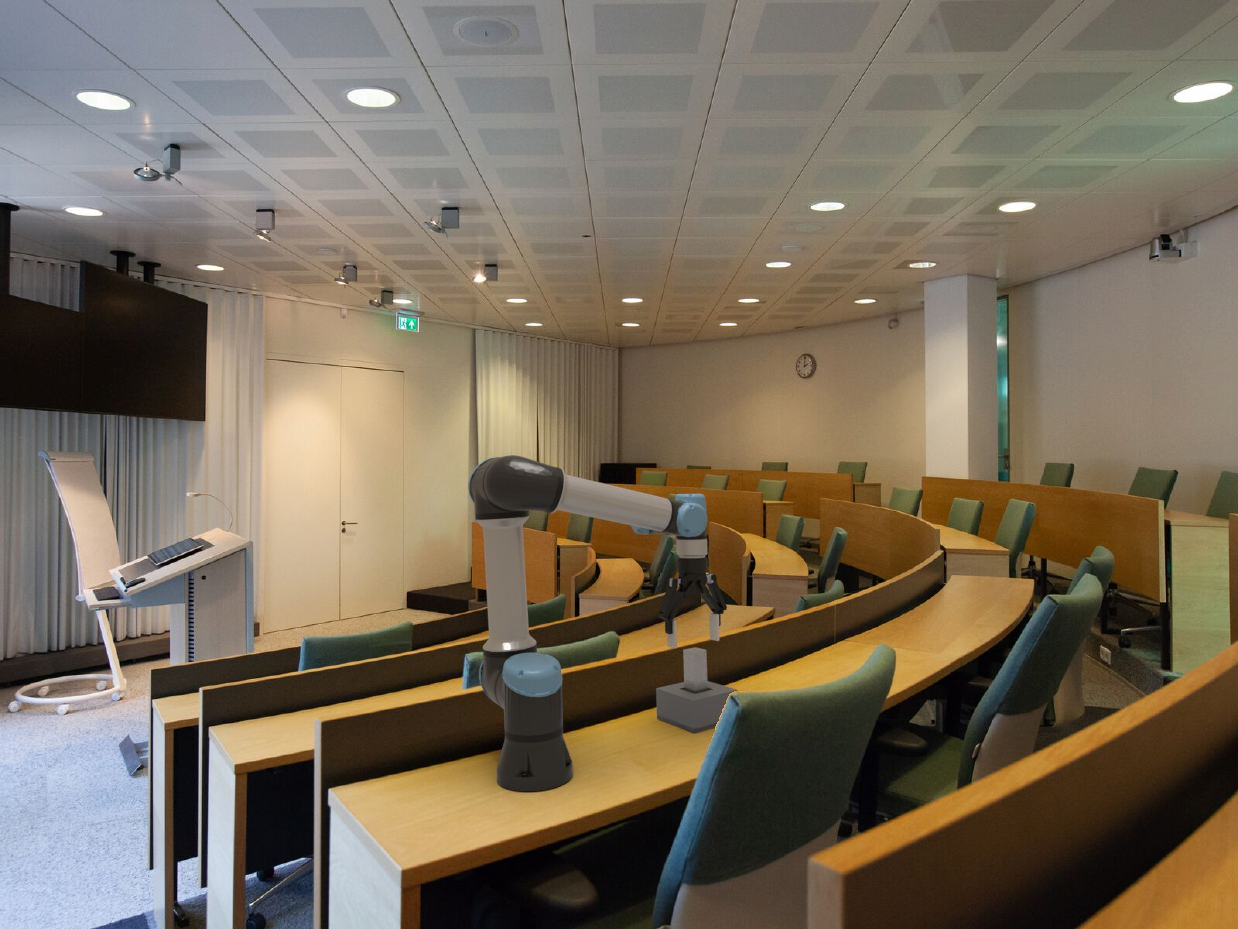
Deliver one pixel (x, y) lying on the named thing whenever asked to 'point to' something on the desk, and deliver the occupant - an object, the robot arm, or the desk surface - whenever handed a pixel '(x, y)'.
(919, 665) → the desk surface
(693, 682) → the grey metal bar
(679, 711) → the slate well
